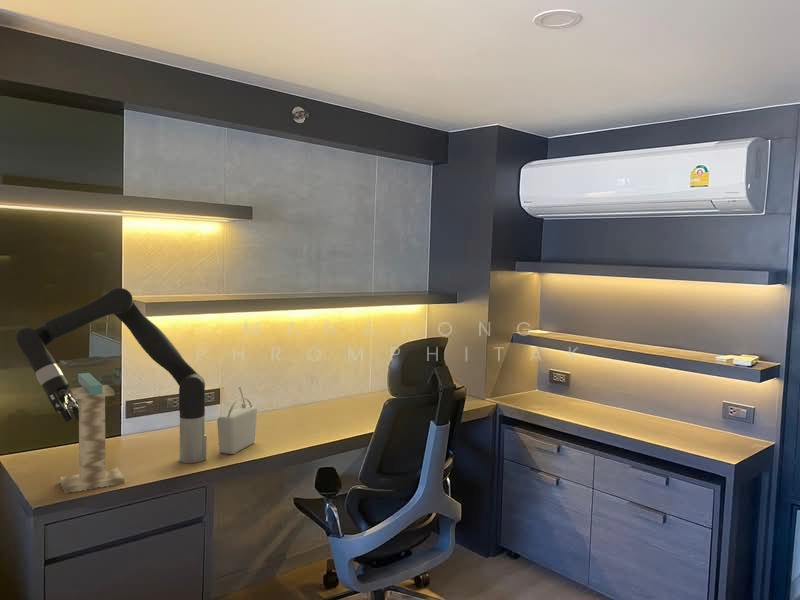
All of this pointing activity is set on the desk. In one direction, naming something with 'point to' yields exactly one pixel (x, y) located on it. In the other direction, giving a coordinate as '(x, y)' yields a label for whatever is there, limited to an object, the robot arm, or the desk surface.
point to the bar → (90, 383)
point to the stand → (91, 444)
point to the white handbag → (237, 428)
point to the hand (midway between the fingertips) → (75, 420)
